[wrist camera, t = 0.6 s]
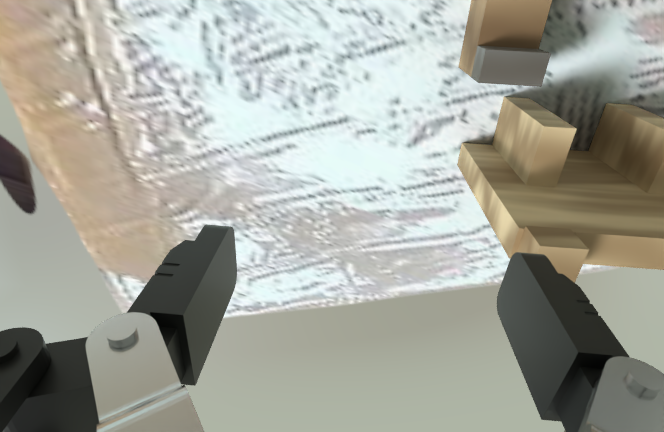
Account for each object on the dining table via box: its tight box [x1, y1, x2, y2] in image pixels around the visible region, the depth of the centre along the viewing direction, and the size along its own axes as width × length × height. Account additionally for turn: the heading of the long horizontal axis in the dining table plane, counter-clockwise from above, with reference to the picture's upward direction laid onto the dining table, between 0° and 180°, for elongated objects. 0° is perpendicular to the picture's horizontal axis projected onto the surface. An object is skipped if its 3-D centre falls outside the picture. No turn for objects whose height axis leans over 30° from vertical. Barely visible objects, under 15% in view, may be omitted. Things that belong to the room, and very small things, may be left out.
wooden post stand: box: [457, 97, 664, 283], centre depth 26 cm, size 6×15×16 cm, turn 87°
